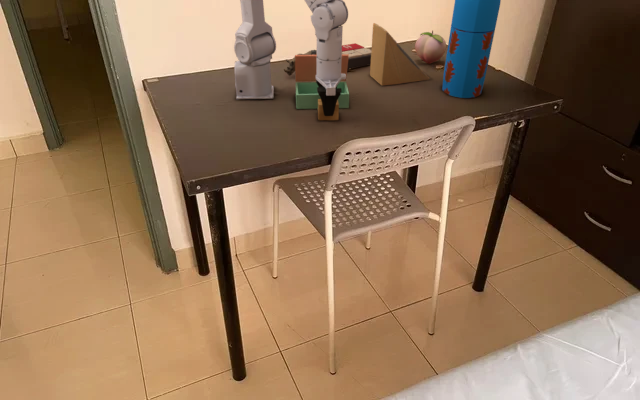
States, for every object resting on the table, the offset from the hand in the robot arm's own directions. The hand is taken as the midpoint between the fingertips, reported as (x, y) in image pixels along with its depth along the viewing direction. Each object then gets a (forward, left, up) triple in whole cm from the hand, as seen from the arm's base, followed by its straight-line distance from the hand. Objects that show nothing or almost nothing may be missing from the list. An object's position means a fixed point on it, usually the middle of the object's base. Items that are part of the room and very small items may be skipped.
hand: (328, 111), depth 123 cm
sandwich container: (+22, +25, -2) cm, 34 cm away
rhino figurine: (-6, +29, -2) cm, 30 cm away
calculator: (+8, +37, -2) cm, 38 cm away
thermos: (+37, +15, -2) cm, 40 cm away
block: (0, 0, -1) cm, 1 cm away
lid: (-1, +11, +7) cm, 13 cm away
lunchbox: (-1, +9, -1) cm, 9 cm away
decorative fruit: (+33, +36, -2) cm, 49 cm away
